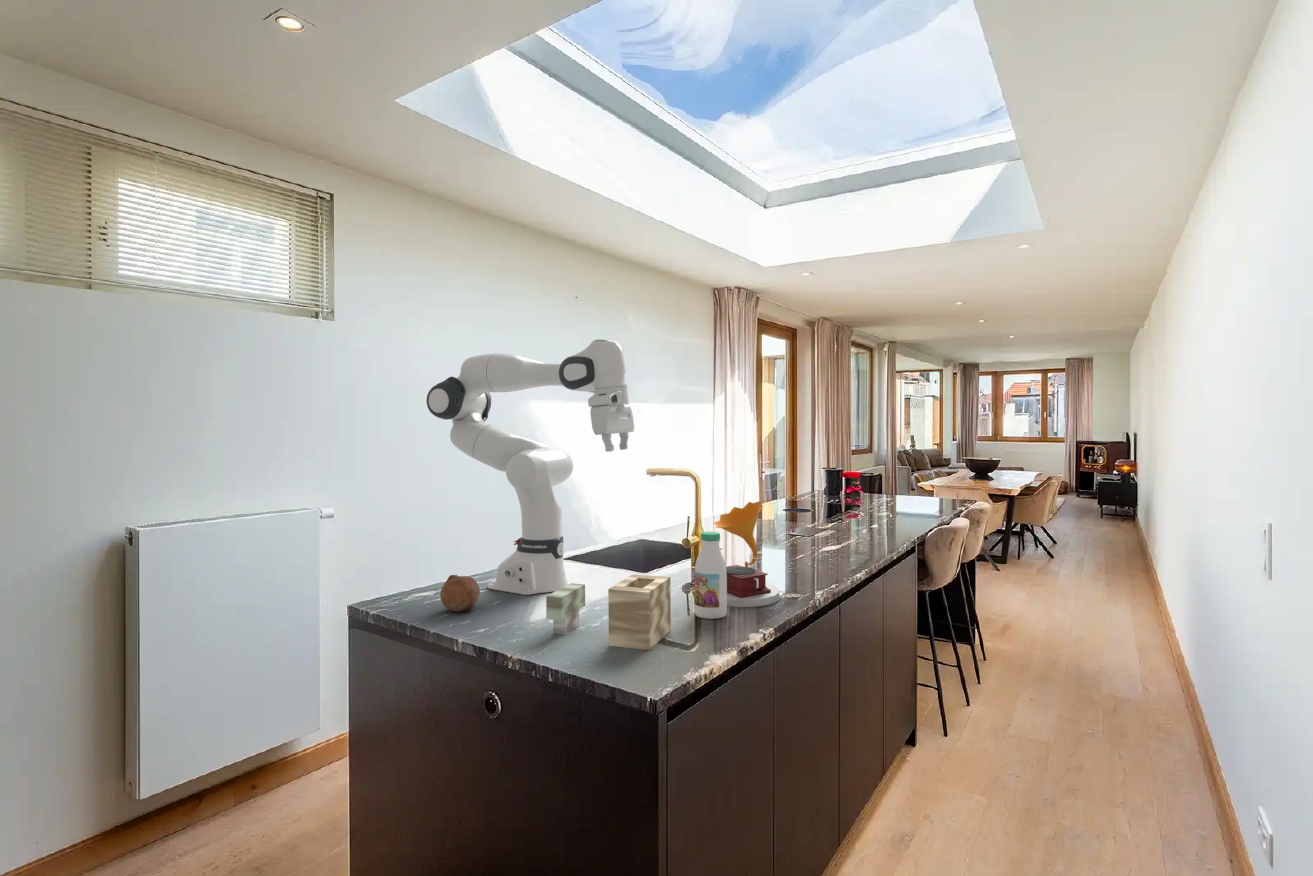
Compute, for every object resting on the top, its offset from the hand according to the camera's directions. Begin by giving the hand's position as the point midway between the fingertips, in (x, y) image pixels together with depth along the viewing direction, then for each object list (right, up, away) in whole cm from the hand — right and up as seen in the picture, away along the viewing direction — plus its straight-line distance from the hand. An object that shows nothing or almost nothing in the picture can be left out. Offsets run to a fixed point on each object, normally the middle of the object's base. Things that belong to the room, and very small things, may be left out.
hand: (617, 450), depth 184 cm
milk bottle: (+24, -40, -19) cm, 50 cm away
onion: (-38, -40, -13) cm, 57 cm away
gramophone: (+33, -39, -2) cm, 51 cm away
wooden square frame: (+7, -40, -35) cm, 54 cm away
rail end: (-10, -40, -29) cm, 50 cm away
